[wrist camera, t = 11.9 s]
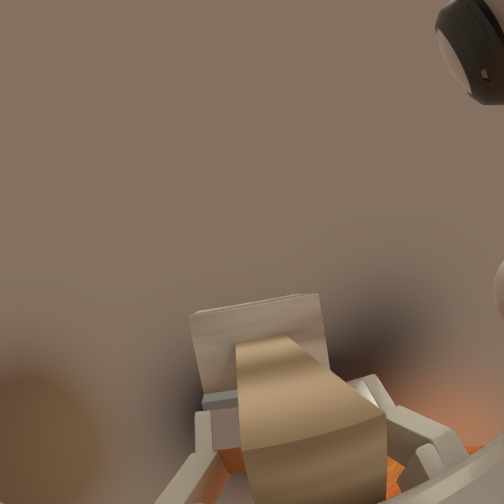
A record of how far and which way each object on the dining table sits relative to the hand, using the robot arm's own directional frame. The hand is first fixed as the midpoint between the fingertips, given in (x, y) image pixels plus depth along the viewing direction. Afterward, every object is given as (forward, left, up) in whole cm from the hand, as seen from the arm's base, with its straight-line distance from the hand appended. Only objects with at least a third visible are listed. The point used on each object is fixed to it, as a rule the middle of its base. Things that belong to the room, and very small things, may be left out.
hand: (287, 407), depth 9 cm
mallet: (0, -5, -2) cm, 5 cm away
